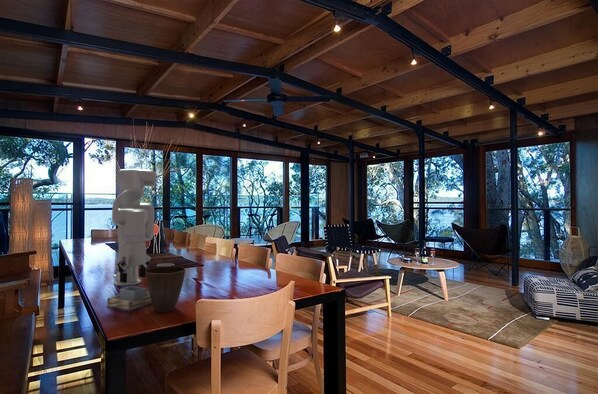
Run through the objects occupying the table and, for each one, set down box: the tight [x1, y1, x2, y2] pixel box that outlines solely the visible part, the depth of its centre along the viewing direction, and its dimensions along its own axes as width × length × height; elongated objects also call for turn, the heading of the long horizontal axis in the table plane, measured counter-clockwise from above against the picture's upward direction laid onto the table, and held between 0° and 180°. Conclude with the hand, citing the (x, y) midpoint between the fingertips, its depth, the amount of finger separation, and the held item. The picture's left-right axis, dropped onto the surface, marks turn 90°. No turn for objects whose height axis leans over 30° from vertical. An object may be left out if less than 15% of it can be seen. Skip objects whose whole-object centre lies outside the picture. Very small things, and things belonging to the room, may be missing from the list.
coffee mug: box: [149, 262, 175, 269], centre depth 178 cm, size 12×9×10 cm
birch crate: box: [106, 292, 153, 312], centre depth 141 cm, size 12×13×4 cm
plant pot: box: [145, 266, 186, 313], centre depth 135 cm, size 15×15×16 cm
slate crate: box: [118, 285, 147, 306], centre depth 141 cm, size 8×6×6 cm
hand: (133, 279), depth 142 cm, fingers open, 9 cm apart
